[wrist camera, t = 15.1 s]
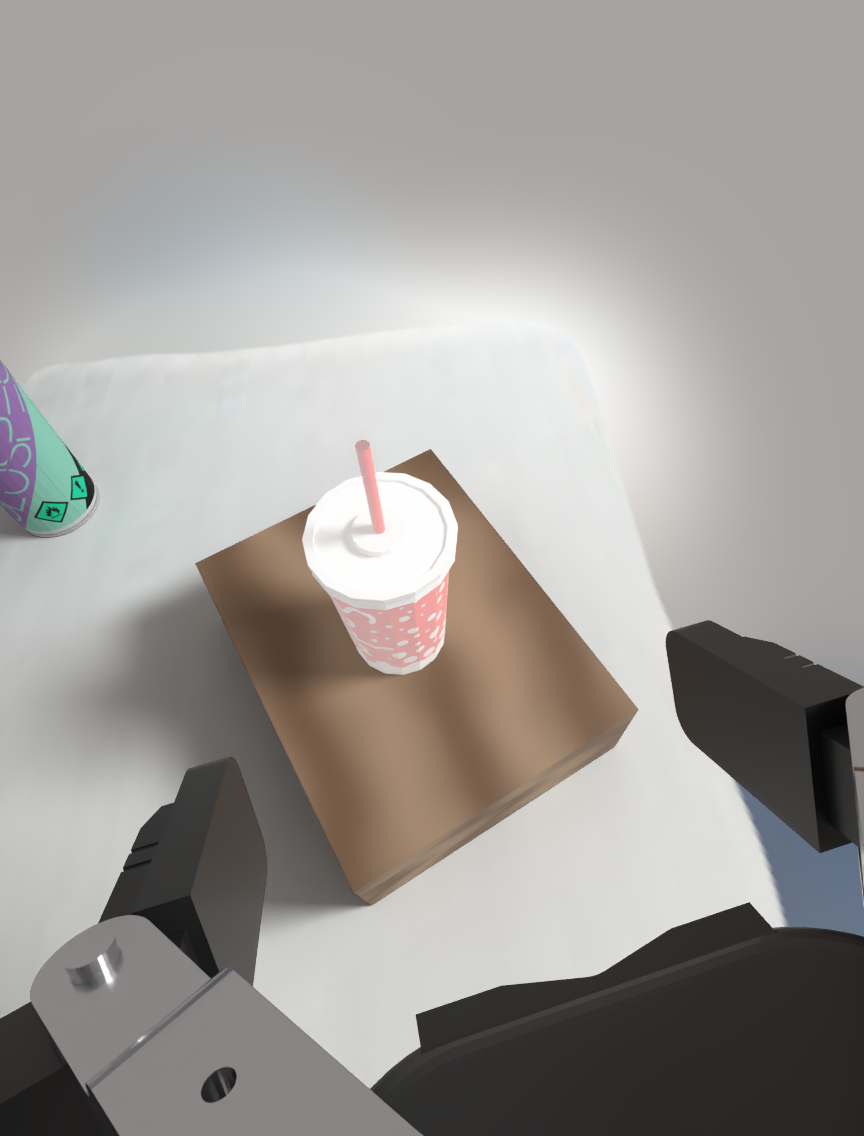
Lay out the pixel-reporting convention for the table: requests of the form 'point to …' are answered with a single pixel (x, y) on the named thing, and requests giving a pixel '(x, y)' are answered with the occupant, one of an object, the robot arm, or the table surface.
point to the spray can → (39, 468)
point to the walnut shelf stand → (417, 696)
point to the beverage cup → (385, 563)
